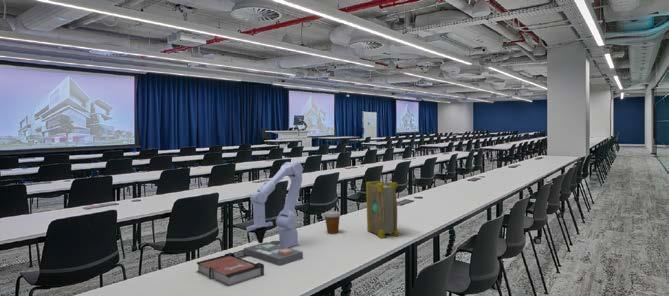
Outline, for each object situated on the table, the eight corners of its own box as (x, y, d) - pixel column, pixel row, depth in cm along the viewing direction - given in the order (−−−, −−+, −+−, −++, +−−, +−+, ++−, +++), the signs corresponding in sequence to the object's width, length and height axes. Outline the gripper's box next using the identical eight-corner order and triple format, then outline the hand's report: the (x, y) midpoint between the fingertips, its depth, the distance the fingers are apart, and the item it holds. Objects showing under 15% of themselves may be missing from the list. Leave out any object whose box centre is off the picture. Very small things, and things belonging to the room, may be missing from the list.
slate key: (277, 253, 201) (277, 249, 201) (283, 255, 198) (283, 250, 198) (269, 255, 198) (269, 251, 198) (275, 257, 195) (275, 253, 194)
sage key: (269, 248, 206) (269, 243, 206) (275, 249, 202) (275, 245, 202) (261, 250, 202) (261, 245, 202) (267, 251, 199) (267, 247, 199)
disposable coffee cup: (327, 235, 237) (326, 214, 237) (323, 231, 246) (322, 211, 246) (342, 233, 240) (342, 213, 239) (338, 230, 249) (337, 210, 249)
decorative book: (366, 231, 244) (364, 180, 243) (382, 229, 248) (381, 179, 247) (382, 239, 225) (380, 184, 224) (399, 236, 229) (398, 182, 228)
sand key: (261, 248, 210) (261, 244, 210) (267, 250, 207) (267, 246, 207) (253, 250, 207) (253, 246, 207) (259, 252, 204) (259, 248, 203)
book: (195, 273, 180) (195, 261, 180) (231, 263, 193) (230, 252, 192) (226, 287, 162) (226, 275, 162) (264, 276, 174) (263, 264, 174)
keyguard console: (266, 247, 215) (266, 241, 215) (302, 258, 196) (302, 251, 195) (243, 254, 205) (243, 247, 205) (279, 265, 185) (279, 258, 185)
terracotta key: (286, 252, 197) (285, 248, 197) (292, 254, 193) (292, 250, 193) (278, 255, 193) (277, 250, 193) (284, 257, 190) (284, 252, 190)
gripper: (266, 212, 214) (267, 238, 215) (242, 217, 204) (243, 244, 204) (274, 213, 209) (275, 240, 210) (250, 219, 199) (251, 247, 200)
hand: (260, 242), depth 207 cm, fingers closed
